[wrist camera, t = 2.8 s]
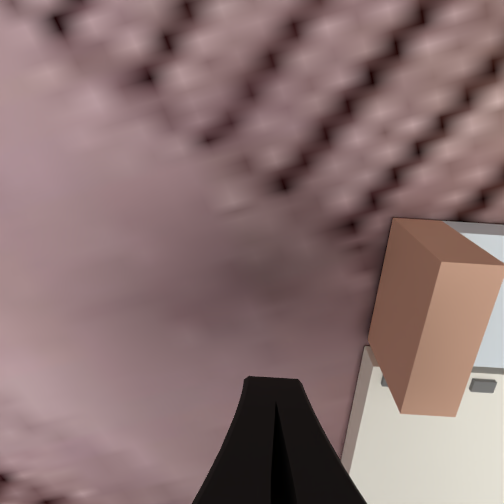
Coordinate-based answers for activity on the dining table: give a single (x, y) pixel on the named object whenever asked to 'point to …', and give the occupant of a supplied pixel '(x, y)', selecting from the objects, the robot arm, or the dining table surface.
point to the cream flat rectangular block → (426, 444)
